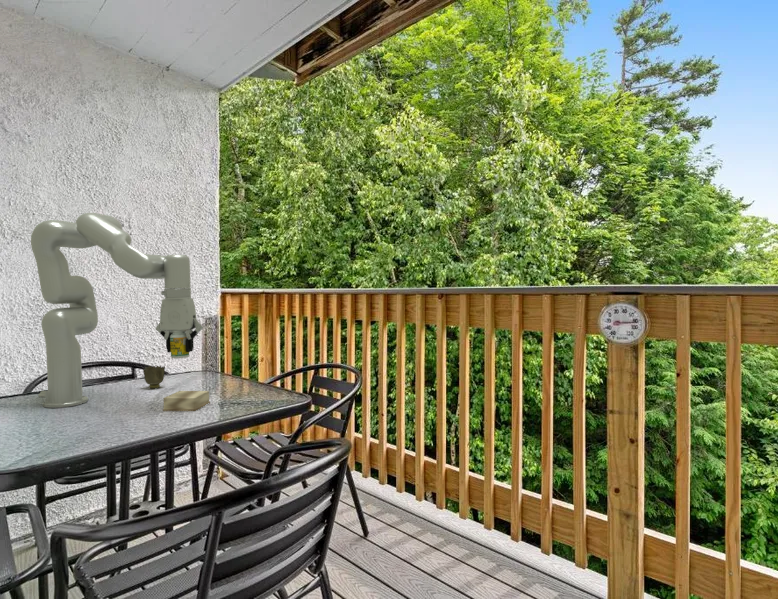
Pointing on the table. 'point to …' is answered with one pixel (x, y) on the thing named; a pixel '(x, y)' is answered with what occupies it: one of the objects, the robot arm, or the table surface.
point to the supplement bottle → (178, 345)
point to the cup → (154, 376)
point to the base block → (186, 401)
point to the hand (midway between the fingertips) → (180, 351)
